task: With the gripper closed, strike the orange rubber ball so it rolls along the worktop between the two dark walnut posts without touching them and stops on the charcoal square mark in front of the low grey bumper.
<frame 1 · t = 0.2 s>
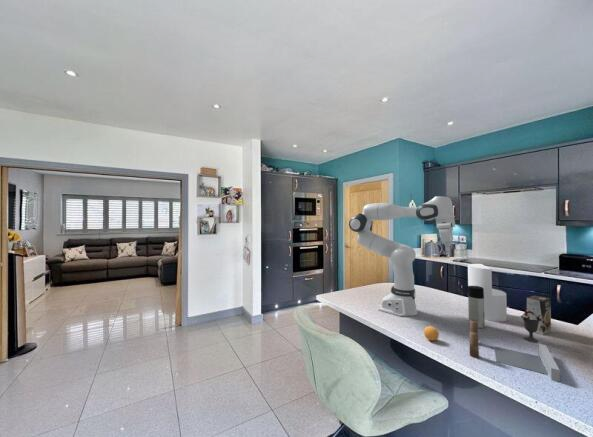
hand: (448, 249, 134), 39 cm above the countertop, tool pointing down, fingers open, 8 cm apart
coffee box: (539, 331, 121), on the countertop
bumper: (548, 366, 92), on the countertop
sundae: (531, 340, 112), on the countertop
post 2: (474, 342, 111), on the countertop
cylinder: (486, 315, 141), on the countertop
ball: (431, 333, 113), on the countertop
spray can: (476, 325, 128), on the countertop
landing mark: (518, 359, 97), on the countertop
post 1: (474, 355, 100), on the countertop
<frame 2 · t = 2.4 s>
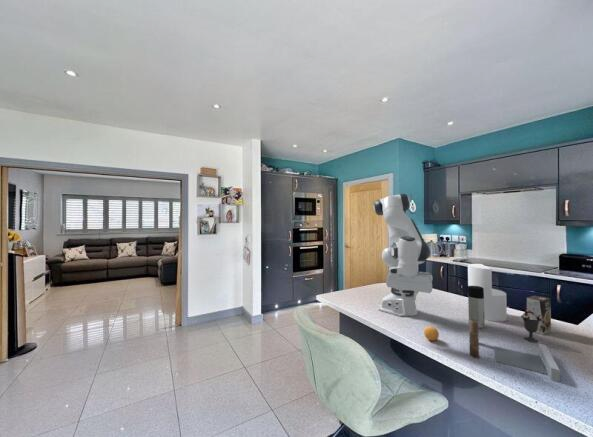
hand: (408, 298, 119), 17 cm above the countertop, tool pointing down, fingers open, 3 cm apart
nothing on the countertop moved.
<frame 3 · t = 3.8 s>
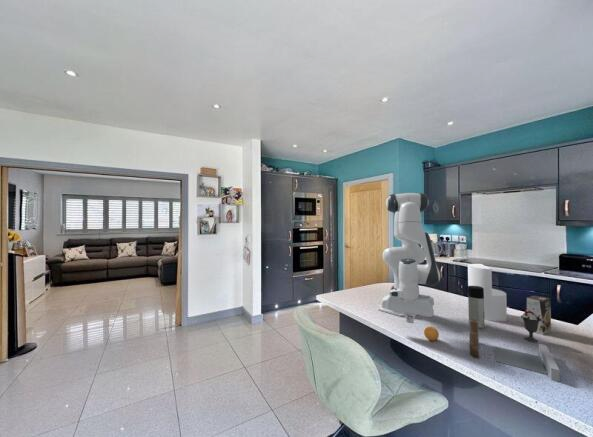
hand: (410, 322, 118), 6 cm above the countertop, tool pointing down, fingers closed
nothing on the countertop moved.
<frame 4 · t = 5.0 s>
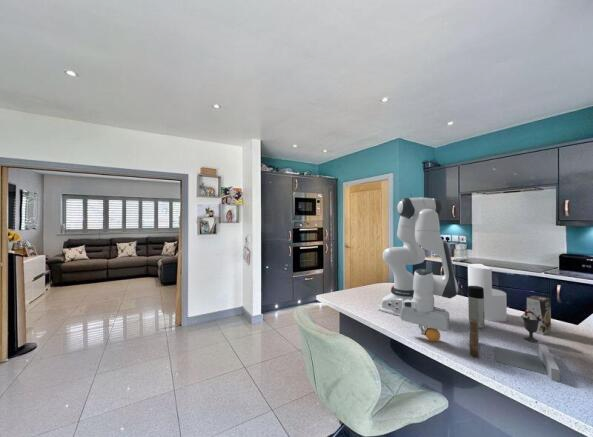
hand: (423, 334, 114), 2 cm above the countertop, tool pointing down, fingers closed, pressing on ball
ball: (432, 334, 113), on the countertop, touching gripper
everything else where it was.
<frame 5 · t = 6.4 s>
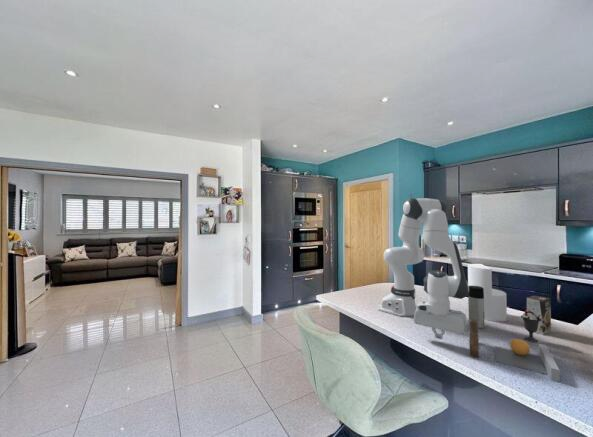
hand: (438, 338, 112), 2 cm above the countertop, tool pointing down, fingers closed
ball: (519, 347, 100), on the countertop
everything else where it was.
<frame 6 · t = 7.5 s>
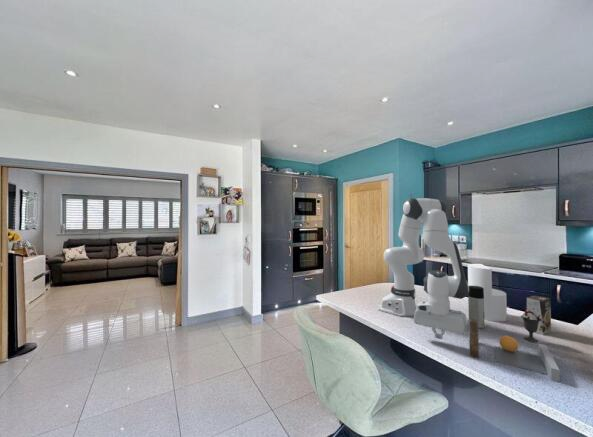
hand: (438, 338, 112), 2 cm above the countertop, tool pointing down, fingers closed
ball: (508, 343, 103), on the countertop
everything else where it was.
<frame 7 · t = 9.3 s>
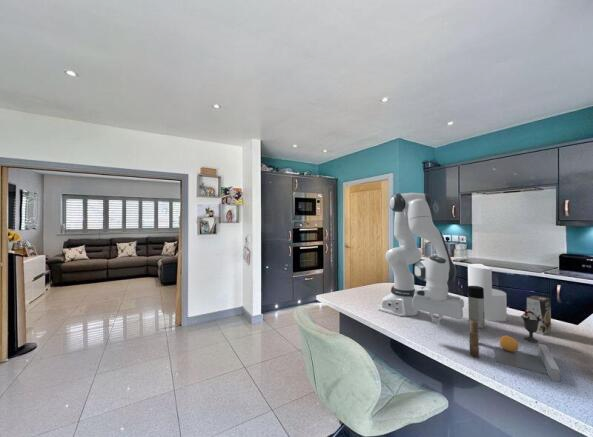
hand: (435, 322, 113), 8 cm above the countertop, tool pointing down, fingers closed
nothing on the countertop moved.
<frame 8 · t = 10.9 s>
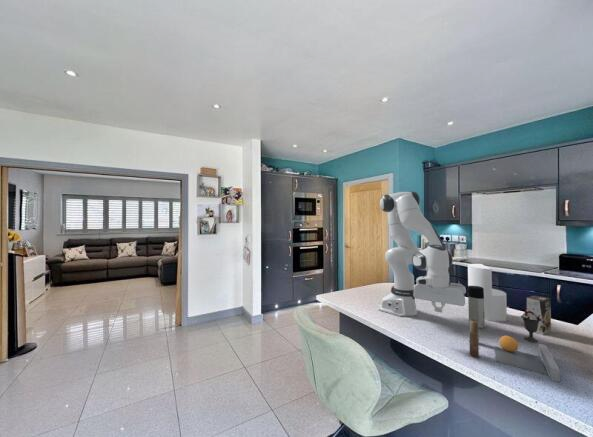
hand: (438, 311, 112), 14 cm above the countertop, tool pointing down, fingers closed
nothing on the countertop moved.
at the end: ball 6.4 cm from the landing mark (horizontally); ball never touched post 2; ball never touched post 1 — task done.
